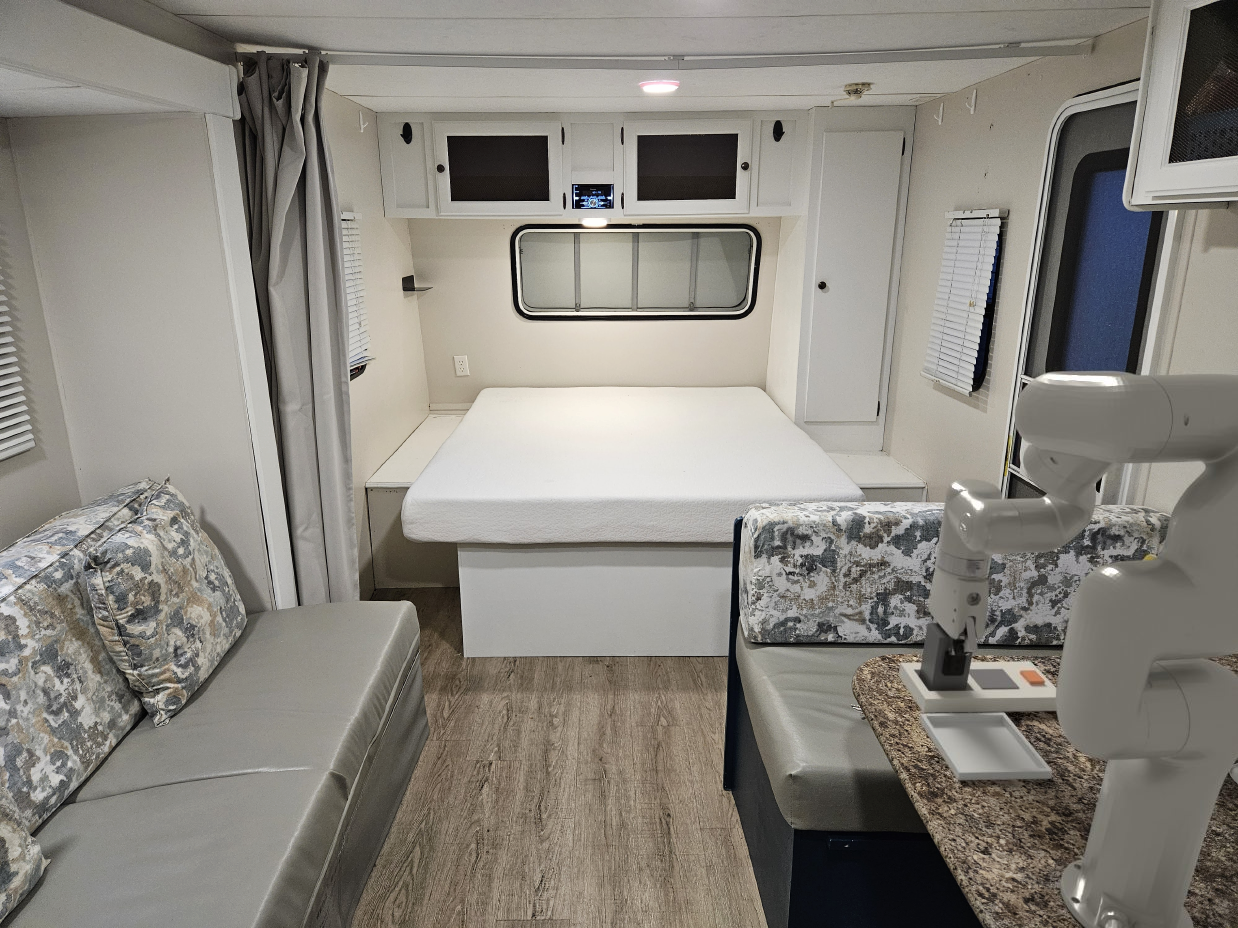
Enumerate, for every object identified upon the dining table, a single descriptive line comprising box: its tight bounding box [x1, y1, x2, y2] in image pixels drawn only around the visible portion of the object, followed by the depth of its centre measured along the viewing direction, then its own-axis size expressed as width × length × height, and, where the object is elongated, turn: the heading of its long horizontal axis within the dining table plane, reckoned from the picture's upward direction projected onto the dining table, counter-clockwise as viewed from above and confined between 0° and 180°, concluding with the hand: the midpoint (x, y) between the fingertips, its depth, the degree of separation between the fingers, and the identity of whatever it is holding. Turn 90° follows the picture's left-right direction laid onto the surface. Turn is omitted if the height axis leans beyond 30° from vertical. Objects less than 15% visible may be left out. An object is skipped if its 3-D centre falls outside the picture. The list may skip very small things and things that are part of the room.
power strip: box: [898, 661, 1057, 714], centre depth 126 cm, size 10×22×4 cm, turn 92°
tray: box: [918, 712, 1053, 781], centre depth 113 cm, size 13×13×2 cm
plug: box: [919, 622, 973, 691], centre depth 124 cm, size 4×6×10 cm
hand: (945, 664), depth 124 cm, fingers closed on plug, 4 cm apart
